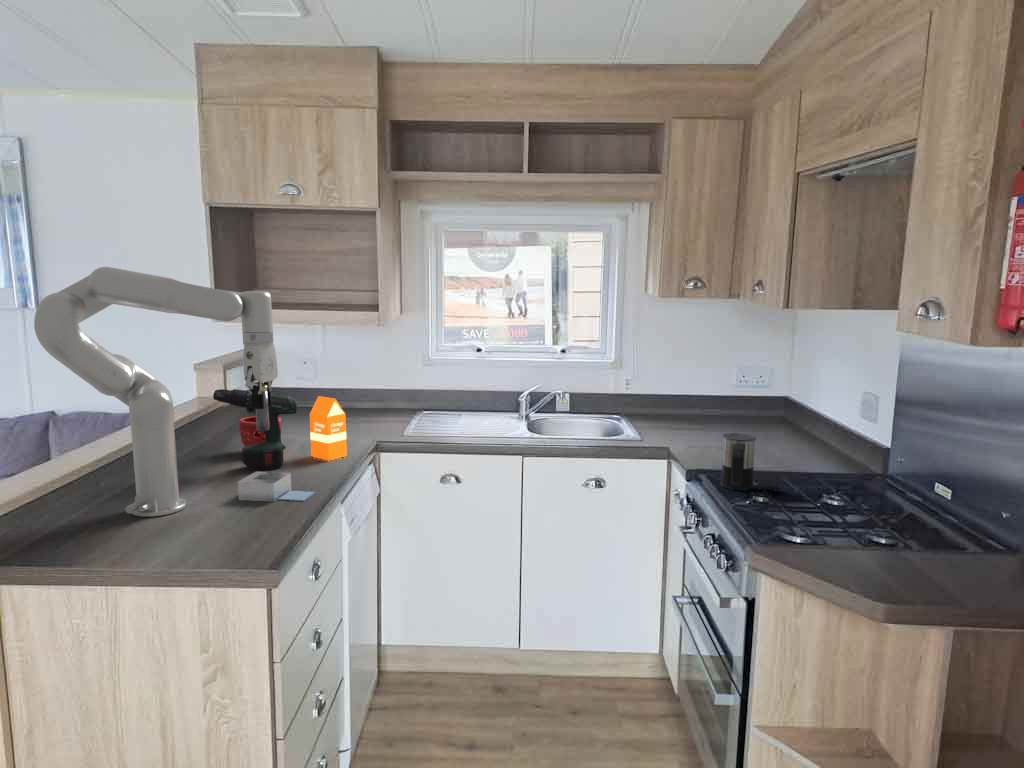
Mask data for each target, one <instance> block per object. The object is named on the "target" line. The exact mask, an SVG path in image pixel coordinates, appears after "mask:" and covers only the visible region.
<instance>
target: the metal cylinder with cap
mask: <svg viewBox="0 0 1024 768" xmlns="http://www.w3.org/2000/svg"><path fill="white" fill-rule="evenodd" d="M255 385H256V386H257V387H258V384H255ZM262 394H264V409H256V414H255V416H256V425H257V431H266V430H269V411H268V392H267V385H265V384H264V383H263V384H262Z"/></svg>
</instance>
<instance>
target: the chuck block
mask: <svg viewBox="0 0 1024 768" xmlns="http://www.w3.org/2000/svg"><path fill="white" fill-rule="evenodd" d="M291 474H292V473H291V472H279V471H278V472H276V471H261V470H257V471H253V473H251V474H249V475H247V476H246V477H244V478H242V479H240V480H238V481H237V492H238V500H239V501H250V502H252V501H254V502H268V503H269V502H270V503H271V502H272V503H275V502H276V501H279V498H280V497H282V496H283V495H285V494H286V493H288V492H289V491H292V475H291Z"/></svg>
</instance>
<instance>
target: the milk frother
mask: <svg viewBox="0 0 1024 768" xmlns="http://www.w3.org/2000/svg"><path fill="white" fill-rule="evenodd" d="M722 436H723V446H722V447H723V448H722V449H723V450H722V468H721V475H720V476H721V477H720V482H719V485H720V486H721V487H723V488H726V489H728V490H729V489H730V490H736V491H748V490H750V491H751V490H753V489H755V488H756V489H770V491H771V492H772V493H776V492H779V490H782V489H783V490H784V488H785V486H784V485H780V484H778V482H771V483H768V484H767V483H761V484H755V485H754V467H755V466H754V462H755V453H756V452H755V449H756V448H755V447H756V440H757V436H755V435H752V434H750V433H749V434H748V433H740V432H739V433H738V432H737V433H736V432H734V433H733V432H728V433H724V434H722Z"/></svg>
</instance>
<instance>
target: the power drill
mask: <svg viewBox="0 0 1024 768" xmlns="http://www.w3.org/2000/svg"><path fill="white" fill-rule="evenodd" d="M212 398H213V400H214V401H218V402H219V403H225V404H230V405H232V406H236V407H241V408H245V409H246V411H247V413H248V414H254V415H256V409H252V401H251V394H250V390H249V389H247V390H244V389H235V388H234V389H232V390H231V389H223V388H222V389H220V388H219V389H215V391H214V392H213V395H212ZM268 411H269V430H266V431H265V441H264V442H262V443H257V444H253V445H249V446H246V447H245V446H244V447H245V448H244V447H243V448H244V449H243V451H242V450H241V460H242V463H243V465H245V466H246V467H247V468H249V469H250V470H251V471H253V472H256V471H266V470H267V469H268V470H275V468H278V469H280V467H282V466H283V465H284V450H285V449H286V445H285V444H283V443H282V430H281V431H280V425H279V421H278V417H279V415H294V414H297V413H298V412H297V411H298V403H297V399H296V398H294V397H292V396H290V395H288V394H281V393H272V392H271V406H268Z"/></svg>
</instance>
